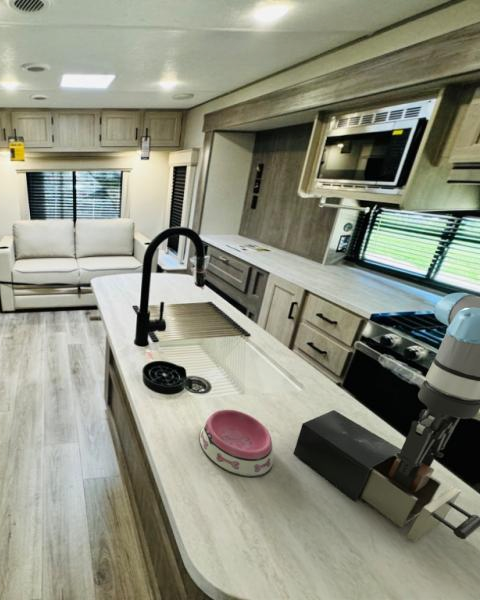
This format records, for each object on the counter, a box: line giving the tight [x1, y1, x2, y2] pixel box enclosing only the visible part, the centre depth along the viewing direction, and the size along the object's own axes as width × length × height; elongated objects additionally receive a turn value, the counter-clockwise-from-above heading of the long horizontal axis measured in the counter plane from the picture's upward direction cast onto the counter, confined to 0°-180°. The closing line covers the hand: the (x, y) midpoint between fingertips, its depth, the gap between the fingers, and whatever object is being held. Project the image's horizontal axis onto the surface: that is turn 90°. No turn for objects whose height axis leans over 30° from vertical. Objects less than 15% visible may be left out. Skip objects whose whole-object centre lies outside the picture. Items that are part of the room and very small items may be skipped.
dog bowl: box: [198, 409, 274, 478], centre depth 85 cm, size 18×19×7 cm
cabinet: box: [293, 409, 402, 503], centre depth 78 cm, size 15×13×11 cm
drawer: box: [359, 455, 480, 543], centre depth 67 cm, size 18×11×9 cm, turn 22°
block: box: [389, 458, 435, 492], centre depth 66 cm, size 4×4×4 cm
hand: (407, 478), depth 66 cm, fingers closed on block, 4 cm apart
